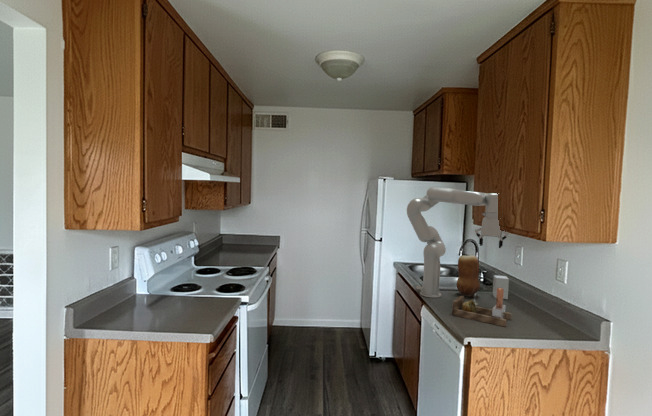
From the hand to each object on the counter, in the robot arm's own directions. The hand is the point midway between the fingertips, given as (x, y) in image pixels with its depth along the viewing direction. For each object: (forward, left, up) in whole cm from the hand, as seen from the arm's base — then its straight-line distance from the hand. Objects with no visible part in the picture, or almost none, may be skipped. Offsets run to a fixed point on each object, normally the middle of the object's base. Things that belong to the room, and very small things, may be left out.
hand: (490, 246), depth 208 cm
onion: (-4, -22, -34) cm, 40 cm away
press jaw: (+10, -22, -32) cm, 40 cm away
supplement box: (+2, +26, -34) cm, 42 cm away
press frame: (+2, -22, -33) cm, 40 cm away
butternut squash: (-14, +14, -34) cm, 39 cm away
